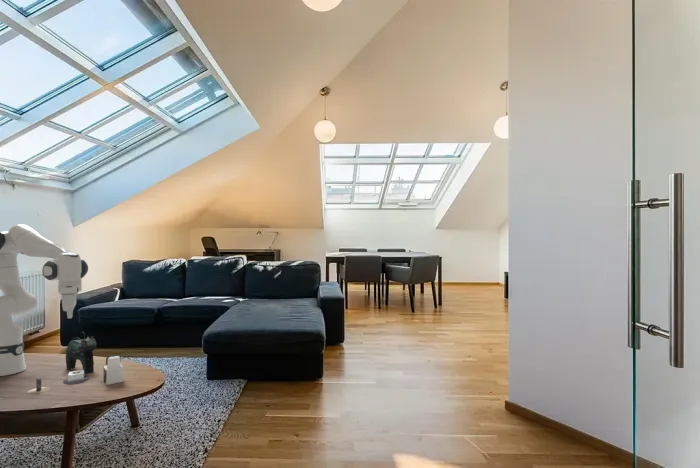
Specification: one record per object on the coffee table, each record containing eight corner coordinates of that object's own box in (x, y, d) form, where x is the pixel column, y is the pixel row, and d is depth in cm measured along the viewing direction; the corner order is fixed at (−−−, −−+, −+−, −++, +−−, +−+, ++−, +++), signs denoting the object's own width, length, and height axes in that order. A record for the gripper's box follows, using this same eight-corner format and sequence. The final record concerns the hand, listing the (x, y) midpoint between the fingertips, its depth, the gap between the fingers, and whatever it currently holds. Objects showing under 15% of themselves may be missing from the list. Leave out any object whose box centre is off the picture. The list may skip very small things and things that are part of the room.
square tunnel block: (68, 382, 184) (68, 375, 184) (69, 378, 190) (69, 371, 190) (83, 379, 188) (83, 373, 188) (84, 375, 193) (84, 369, 193)
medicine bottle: (103, 381, 190) (103, 355, 190) (120, 377, 194) (120, 353, 194) (106, 385, 184) (106, 359, 184) (123, 381, 189) (123, 356, 189)
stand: (22, 395, 172) (22, 381, 172) (38, 388, 180) (38, 375, 180) (39, 396, 172) (39, 382, 172) (54, 389, 180) (54, 375, 180)
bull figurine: (97, 371, 204) (97, 332, 204) (84, 375, 198) (84, 334, 198) (74, 366, 212) (74, 328, 213) (61, 369, 207) (61, 330, 207)
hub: (57, 385, 184) (57, 377, 184) (74, 378, 194) (74, 369, 194) (78, 386, 183) (78, 377, 183) (93, 378, 193) (93, 370, 193)
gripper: (64, 286, 192) (63, 314, 192) (59, 290, 175) (59, 322, 175) (79, 285, 195) (79, 313, 195) (76, 289, 178) (76, 321, 178)
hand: (70, 317), depth 185 cm, fingers closed
